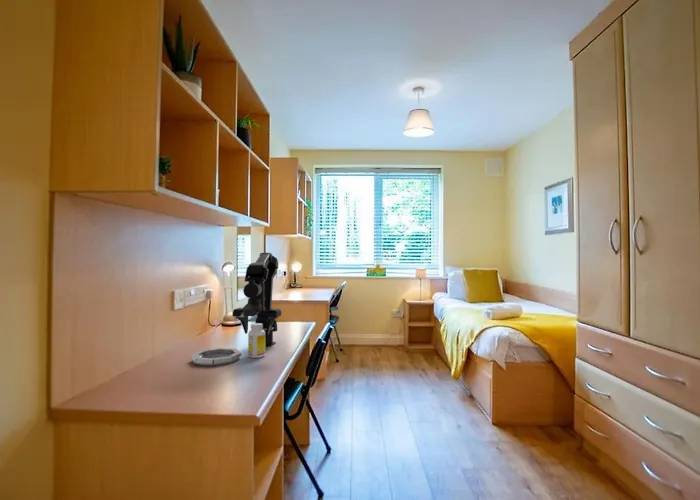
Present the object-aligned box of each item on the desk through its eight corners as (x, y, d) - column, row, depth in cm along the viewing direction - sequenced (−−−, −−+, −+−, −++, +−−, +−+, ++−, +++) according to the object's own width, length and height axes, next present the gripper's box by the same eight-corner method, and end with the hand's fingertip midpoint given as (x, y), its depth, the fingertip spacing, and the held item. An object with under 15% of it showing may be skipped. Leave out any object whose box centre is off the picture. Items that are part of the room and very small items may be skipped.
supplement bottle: (267, 354, 156) (267, 322, 156) (262, 358, 149) (262, 325, 149) (251, 353, 156) (251, 322, 156) (245, 358, 150) (245, 325, 150)
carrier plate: (208, 353, 157) (208, 347, 157) (247, 355, 154) (247, 349, 154) (183, 365, 140) (183, 358, 140) (225, 367, 137) (225, 360, 137)
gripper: (225, 297, 147) (225, 337, 147) (271, 298, 143) (271, 339, 143) (239, 294, 158) (239, 331, 158) (281, 294, 154) (281, 333, 154)
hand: (256, 334), depth 153 cm, fingers open, 9 cm apart
